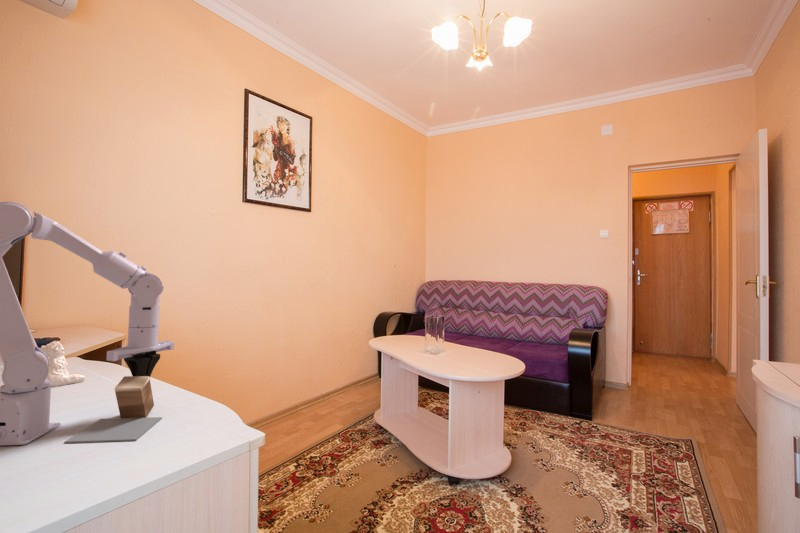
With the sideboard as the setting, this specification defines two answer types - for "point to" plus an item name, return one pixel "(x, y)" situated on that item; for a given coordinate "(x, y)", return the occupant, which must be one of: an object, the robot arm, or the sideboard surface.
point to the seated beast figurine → (59, 366)
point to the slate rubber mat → (115, 430)
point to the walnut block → (134, 396)
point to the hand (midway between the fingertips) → (141, 387)
